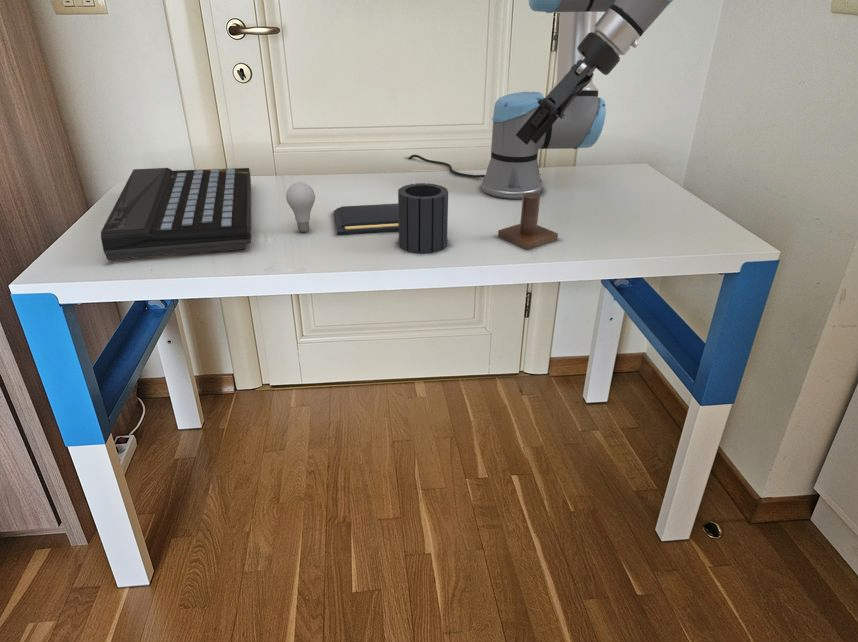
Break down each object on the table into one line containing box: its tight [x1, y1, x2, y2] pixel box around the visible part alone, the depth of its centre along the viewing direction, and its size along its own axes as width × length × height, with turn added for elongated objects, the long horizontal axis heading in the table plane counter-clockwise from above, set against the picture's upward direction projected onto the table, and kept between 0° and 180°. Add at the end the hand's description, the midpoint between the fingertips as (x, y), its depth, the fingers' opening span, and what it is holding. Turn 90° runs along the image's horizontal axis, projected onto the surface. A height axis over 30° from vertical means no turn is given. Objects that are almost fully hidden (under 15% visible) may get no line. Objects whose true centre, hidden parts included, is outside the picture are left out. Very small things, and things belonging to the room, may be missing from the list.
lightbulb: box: [285, 181, 316, 233], centre depth 141 cm, size 6×6×11 cm
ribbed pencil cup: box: [397, 182, 449, 254], centre depth 135 cm, size 10×10×12 cm
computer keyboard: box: [100, 167, 252, 261], centre depth 148 cm, size 45×28×7 cm, turn 12°
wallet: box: [333, 202, 399, 236], centre depth 149 cm, size 20×2×15 cm
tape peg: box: [497, 193, 559, 250], centre depth 138 cm, size 9×9×10 cm
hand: (526, 139), depth 126 cm, fingers open, 13 cm apart
